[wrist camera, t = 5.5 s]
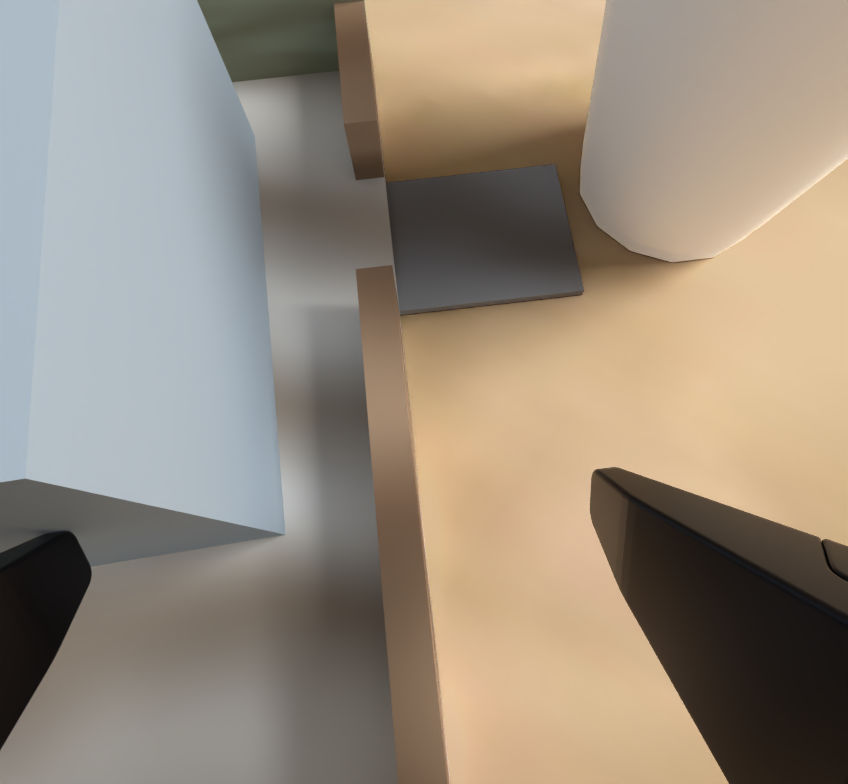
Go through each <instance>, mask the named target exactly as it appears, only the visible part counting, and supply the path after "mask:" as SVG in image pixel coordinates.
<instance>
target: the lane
mask: <svg viewBox="0 0 848 784" xmlns="http://www.w3.org/2000/svg"><path fill="white" fill-rule="evenodd" d="M197 1H198V4H199V6H200V8H201V11H202V13H203V15H204V18H205V20H206V22H207V25H208V27H209V29H210V32H211V34H212V36H213V39H214V41H215V43H216V46H217V48H218V51H219V53H220V55H221V58H222V60H223V62H224V65H225V67H226V69H227V72H228V74H229V76H230V79H231V81H232V83H233V86H234V88H235V90H236V93H237V95H238V97H239V100H240V102H241V104H242V107H243V109H244V111H245V114H246V116H247V118H248V121H249V123H250V126H251V128H252V130H253V133H254V135H255V143H256V156H257V169H258V182H259V195H260V208H261V221H262V234H263V247H264V260H265V273H266V286H267V299H268V312H269V325H270V338H271V351H272V364H273V378H274V391H275V404H276V417H277V430H278V443H279V456H280V469H281V482H282V495H283V508H284V521H285V534H286V535H280V536H274V537H268V538H262V539H256V540H250V541H244V542H238V543H232V544H225V545H219V546H213V547H207V548H201V549H195V550H189V551H183V552H177V553H171V554H165V555H159V556H153V557H146V558H140V559H134V560H128V561H122V562H116V563H110V564H104V565H98V566H92V567H91V570H92V577H91V582H90V585H89V587H88V589H87V591H86V593H85V595H84V598H83V600H82V602H81V604H80V606H79V608H78V610H77V613H76V615H75V617H74V619H73V621H72V623H71V625H70V628H69V630H68V632H67V634H66V636H65V638H64V640H63V643H62V645H61V647H60V649H59V651H58V653H57V655H56V657H55V659H54V661H53V662H52V664H51V666H50V668H49V669H48V671H47V673H46V675H45V676H44V678H43V680H42V681H41V683H40V685H39V686H38V688H37V690H36V691H35V693H34V695H33V697H32V698H31V700H30V702H29V703H28V705H27V707H26V708H25V710H24V712H23V713H22V715H21V717H20V718H19V720H18V722H17V724H16V725H15V727H14V729H13V730H12V732H11V734H10V735H9V737H8V739H7V740H6V742H5V744H4V745H3V747H2V749H1V751H0V784H450V775H449V765H448V756H447V747H446V737H445V728H444V719H443V710H442V700H441V691H440V682H439V673H438V663H437V654H436V645H435V635H434V626H433V617H432V608H431V598H430V589H429V580H428V571H427V561H426V552H425V543H424V533H423V524H422V515H421V506H420V496H419V487H418V478H417V469H416V459H415V450H414V441H413V432H412V422H411V413H410V404H409V394H408V385H407V376H406V367H405V357H404V348H403V339H402V330H401V320H400V315H407V314H416V313H424V312H433V311H442V310H451V309H460V308H469V307H477V306H486V305H495V304H504V303H513V302H522V301H530V300H539V299H548V298H557V297H566V296H575V295H582V293H583V291H584V288H583V284H582V280H581V275H580V271H579V266H578V262H577V258H576V253H575V249H574V244H573V240H572V236H571V231H570V227H569V222H568V218H567V214H566V209H565V205H564V200H563V196H562V192H561V187H560V183H559V178H558V174H557V170H556V165H555V164H552V165H543V166H534V167H525V168H516V169H507V170H498V171H489V172H480V173H471V174H462V175H453V176H444V177H435V178H425V179H416V180H407V181H398V182H389V183H386V181H385V172H384V163H383V153H382V144H381V135H380V126H379V116H378V107H377V98H376V88H375V79H374V70H373V61H372V53H371V46H370V38H369V30H368V23H367V15H366V8H365V0H197Z"/></svg>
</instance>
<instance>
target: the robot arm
mask: <svg viewBox="0 0 848 784" xmlns="http://www.w3.org/2000/svg"><path fill="white" fill-rule="evenodd" d="M590 514H591V519H592V523H593V526H594V528H595V530H596V533H597V535H598V538H599V540H600V543H601V545H602V548H603V550H604V553H605V555H606V557H607V560H608V562H609V565H610V567H611V570H612V572H613V575H614V577H615V579H616V582H617V584H618V586H619V589H620V591H621V593H622V595H623V596H624V598H625V600H626V602H627V604H628V606H629V607H630V609H631V611H632V613H633V615H634V616H635V618H636V620H637V622H638V623H639V625H640V627H641V629H642V630H643V632H644V634H645V636H646V638H647V639H648V641H649V643H650V645H651V646H652V648H653V650H654V652H655V653H656V655H657V657H658V659H659V661H660V662H661V664H662V666H663V668H664V669H665V671H666V673H667V675H668V676H669V678H670V680H671V682H672V684H673V685H674V687H675V689H676V691H677V692H678V694H679V696H680V698H681V699H682V701H683V703H684V705H685V707H686V708H687V710H688V712H689V714H690V715H691V717H692V719H693V721H694V722H695V724H696V726H697V728H698V730H699V731H700V733H701V735H702V737H703V738H704V740H705V742H706V744H707V745H708V747H709V749H710V751H711V753H712V754H713V756H714V758H715V760H716V761H717V763H718V765H719V767H720V768H721V770H722V772H723V774H724V776H725V777H726V779H727V781H728V783H729V784H848V546H845V545H842V544H839V543H837V542H834V541H831V540H828V539H824V540H822V542H821V539H820V538H819V537H816V536H814V535H811V534H808V533H805V532H802V531H799V530H796V529H793V528H791V527H788V526H785V525H782V524H779V523H776V522H773V521H770V520H767V519H765V518H762V517H759V516H756V515H753V514H750V513H747V512H744V511H742V510H739V509H736V508H733V507H730V506H727V505H724V504H721V503H718V502H716V501H713V500H710V499H707V498H704V497H701V496H698V495H695V494H693V493H690V492H687V491H684V490H681V489H678V488H675V487H672V486H670V485H667V484H664V483H661V482H658V481H655V480H652V479H649V478H646V477H644V476H641V475H638V474H635V473H632V472H629V471H626V470H623V469H621V468H617V467H611V468H603V469H596V470H595V471H594V472H593V474H592V478H591V496H590ZM91 577H92V570H91V566H90V563H89V561H88V559H87V557H86V555H85V553H84V551H83V549H82V547H81V546H80V544H79V542H78V540H77V538H76V536H75V535H74V534H73V533H72V532H69V531H61V532H53V533H46V534H43V535H40V536H38V537H36V538H33V539H31V540H29V541H26V542H24V543H22V544H19V545H17V546H15V547H13V548H10V549H8V550H6V551H3V552H1V553H0V751H1V749H2V747H3V745H4V744H5V742H6V740H7V739H8V737H9V735H10V734H11V732H12V730H13V729H14V727H15V725H16V724H17V722H18V720H19V718H20V717H21V715H22V713H23V712H24V710H25V708H26V707H27V705H28V703H29V702H30V700H31V698H32V697H33V695H34V693H35V691H36V690H37V688H38V686H39V685H40V683H41V681H42V680H43V678H44V676H45V675H46V673H47V671H48V669H49V668H50V666H51V664H52V662H53V661H54V659H55V657H56V655H57V653H58V651H59V649H60V647H61V645H62V643H63V640H64V638H65V636H66V634H67V632H68V630H69V628H70V625H71V623H72V621H73V619H74V617H75V615H76V613H77V610H78V608H79V606H80V604H81V602H82V600H83V598H84V595H85V593H86V591H87V589H88V587H89V585H90V582H91Z"/></svg>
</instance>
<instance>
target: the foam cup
mask: <svg viewBox="0 0 848 784" xmlns="http://www.w3.org/2000/svg"><path fill="white" fill-rule="evenodd" d="M847 159H848V0H606V6H605V13H604V19H603V25H602V31H601V37H600V43H599V49H598V55H597V62H596V68H595V74H594V80H593V86H592V92H591V98H590V104H589V110H588V117H587V123H586V129H585V135H584V141H583V149H582V159H581V169H580V195H581V197H582V199H583V201H584V202H585V204H586V206H587V208H588V210H589V212H590V214H591V216H592V217H593V219H594V221H595V223H596V225H597V226H598V227H599V228H600V229H602V230H603V231H604V232H606V233H607V234H608V235H610V236H611V237H612V238H614V239H615V240H616V241H618V242H619V243H620V244H622V245H623V246H624V247H626V248H627V249H628V250H629V251H632V252H636V253H640V254H643V255H647V256H651V257H654V258H658V259H662V260H665V261H669V262H679V261H688V260H697V259H705V258H714V257H715V256H717V255H719V254H720V253H722V252H723V251H725V250H727V249H728V248H730V247H731V246H733V245H735V244H736V243H738V242H739V241H741V240H743V239H744V238H746V237H747V236H748V235H749V234H750V233H752V232H753V231H755V230H756V229H758V228H759V227H761V226H762V225H763V224H765V223H766V222H767V221H768V220H770V219H771V218H772V217H774V216H775V215H776V214H777V213H779V212H780V211H781V210H783V209H784V208H785V207H786V206H788V205H789V204H790V203H792V202H793V201H794V200H795V199H797V198H798V197H799V196H801V195H802V194H803V193H804V192H806V191H807V190H808V189H809V188H811V187H812V186H813V185H815V184H816V183H817V182H818V181H820V180H821V179H822V178H824V177H825V176H826V175H827V174H829V173H830V172H831V171H833V170H834V169H835V168H836V167H838V166H839V165H840V164H842V163H843V162H844V161H845V160H847Z"/></svg>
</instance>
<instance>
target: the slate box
mask: <svg viewBox="0 0 848 784" xmlns="http://www.w3.org/2000/svg"><path fill="white" fill-rule="evenodd" d="M61 531H69V532H72V533H73V534H74V535H75V536H76V538H77V540H78V542H79V544H80V546H81V547H82V549H83V551H84V553H85V555H86V557H87V559H88V561H89V563H90V566H91V567H92V566H98V565H104V564H110V563H116V562H122V561H128V560H134V559H140V558H146V557H153V556H159V555H165V554H171V553H177V552H183V551H189V550H195V549H201V548H207V547H213V546H219V545H225V544H232V543H238V542H244V541H250V540H256V539H262V538H268V537H274V536H280V535H286V534H285V521H284V508H283V495H282V482H281V469H280V456H279V443H278V430H277V417H276V404H275V391H274V378H273V364H272V351H271V338H270V325H269V312H268V299H267V286H266V273H265V260H264V247H263V234H262V221H261V208H260V195H259V182H258V169H257V156H256V143H255V135H254V133H253V130H252V128H251V126H250V123H249V121H248V118H247V116H246V114H245V111H244V109H243V107H242V104H241V102H240V100H239V97H238V95H237V93H236V90H235V88H234V86H233V83H232V81H231V79H230V76H229V74H228V72H227V69H226V67H225V65H224V62H223V60H222V58H221V55H220V53H219V51H218V48H217V46H216V43H215V41H214V39H213V36H212V34H211V32H210V29H209V27H208V25H207V22H206V20H205V18H204V15H203V13H202V11H201V8H200V6H199V4H198V1H197V0H0V553H1V552H3V551H6V550H8V549H10V548H13V547H15V546H17V545H19V544H22V543H24V542H26V541H29V540H31V539H33V538H36V537H38V536H40V535H43V534H46V533H53V532H61Z"/></svg>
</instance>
